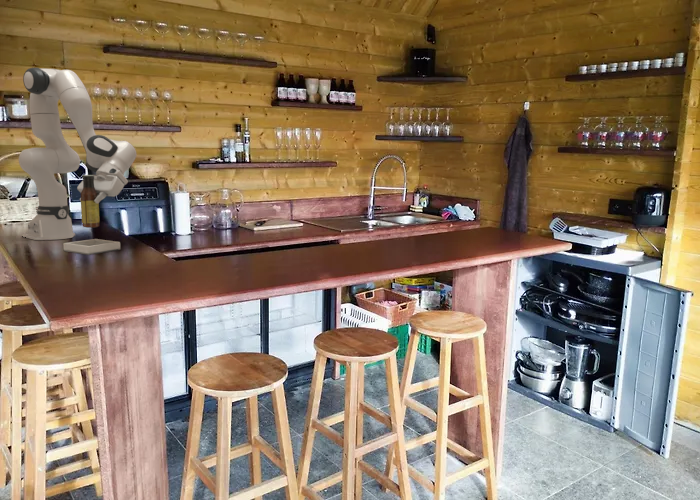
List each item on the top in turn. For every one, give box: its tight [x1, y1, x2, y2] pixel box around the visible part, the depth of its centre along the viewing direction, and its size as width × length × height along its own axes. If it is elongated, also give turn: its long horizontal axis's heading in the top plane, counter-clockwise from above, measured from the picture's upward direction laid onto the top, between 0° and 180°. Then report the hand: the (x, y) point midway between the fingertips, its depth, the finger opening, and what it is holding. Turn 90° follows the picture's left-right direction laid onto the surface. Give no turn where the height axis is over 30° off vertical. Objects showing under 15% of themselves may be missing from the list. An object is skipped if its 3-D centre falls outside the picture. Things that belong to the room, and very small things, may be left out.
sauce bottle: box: [80, 174, 100, 229], centre depth 222 cm, size 6×6×20 cm
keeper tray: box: [62, 238, 121, 256], centre depth 225 cm, size 14×14×3 cm
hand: (88, 201), depth 222 cm, fingers closed on sauce bottle, 6 cm apart
